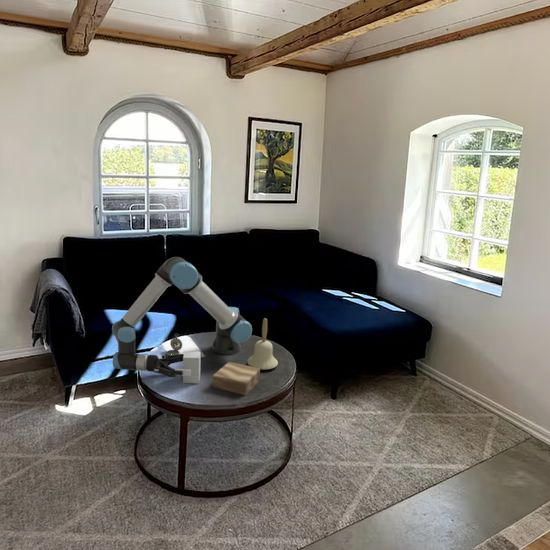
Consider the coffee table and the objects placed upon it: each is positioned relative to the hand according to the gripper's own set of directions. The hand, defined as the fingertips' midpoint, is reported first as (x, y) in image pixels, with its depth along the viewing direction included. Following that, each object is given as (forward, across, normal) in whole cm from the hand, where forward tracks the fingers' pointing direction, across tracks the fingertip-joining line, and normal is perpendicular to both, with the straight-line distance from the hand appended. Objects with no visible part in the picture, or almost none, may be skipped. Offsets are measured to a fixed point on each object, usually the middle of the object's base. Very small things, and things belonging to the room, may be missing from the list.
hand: (193, 366), depth 225 cm
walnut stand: (+20, 0, -7) cm, 21 cm away
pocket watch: (-16, -28, -7) cm, 33 cm away
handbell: (+30, -22, -7) cm, 38 cm away
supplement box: (-1, 0, -7) cm, 7 cm away
